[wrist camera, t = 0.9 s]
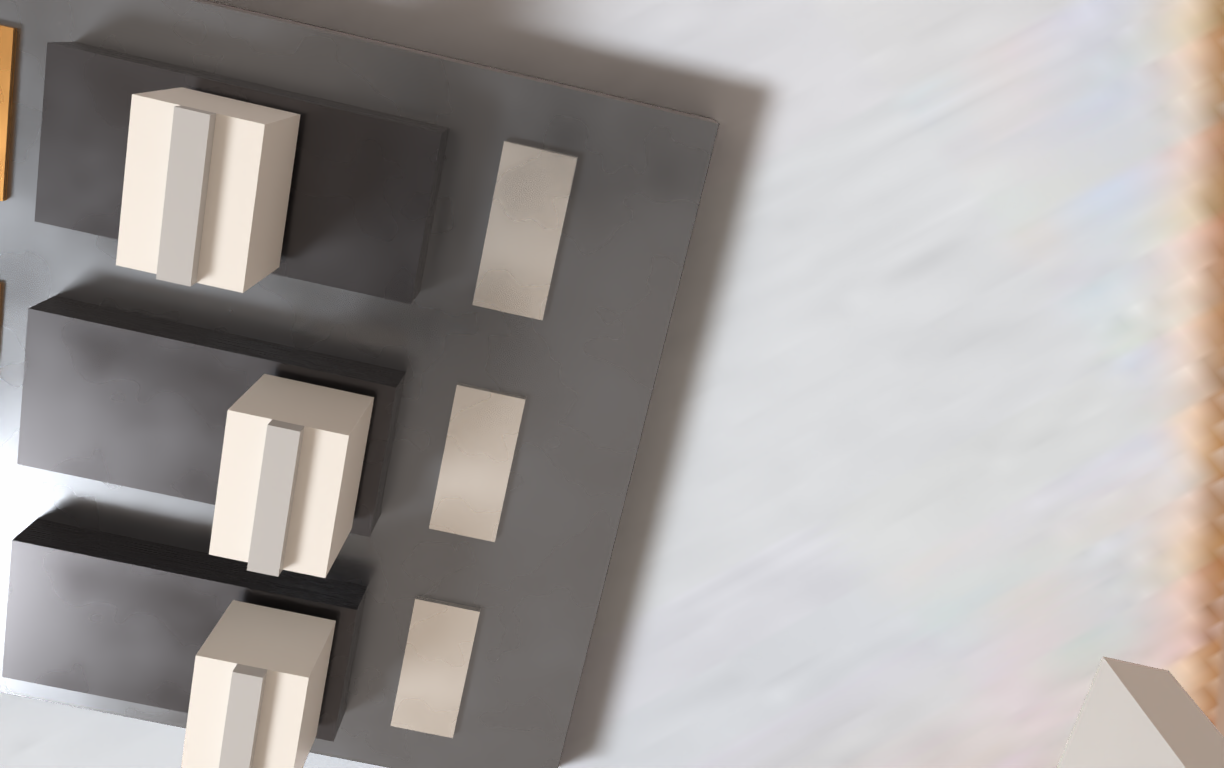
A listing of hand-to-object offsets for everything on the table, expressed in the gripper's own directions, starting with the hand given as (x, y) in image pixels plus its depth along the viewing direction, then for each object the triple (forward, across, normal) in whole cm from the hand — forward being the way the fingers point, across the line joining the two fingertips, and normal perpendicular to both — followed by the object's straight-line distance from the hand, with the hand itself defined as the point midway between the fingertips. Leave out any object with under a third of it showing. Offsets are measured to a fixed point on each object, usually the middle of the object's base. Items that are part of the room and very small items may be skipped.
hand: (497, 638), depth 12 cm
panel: (+21, -9, -6) cm, 24 cm away
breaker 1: (+18, -9, +1) cm, 20 cm away
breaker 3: (+18, -6, -13) cm, 23 cm away
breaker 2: (+18, -6, -6) cm, 20 cm away
